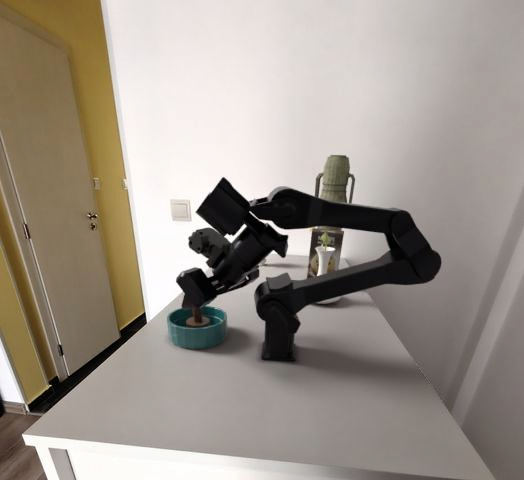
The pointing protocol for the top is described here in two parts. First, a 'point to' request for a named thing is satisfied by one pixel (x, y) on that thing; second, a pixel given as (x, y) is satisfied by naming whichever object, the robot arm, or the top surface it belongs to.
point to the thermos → (335, 182)
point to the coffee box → (316, 241)
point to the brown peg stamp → (197, 320)
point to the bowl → (197, 336)
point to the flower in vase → (324, 259)
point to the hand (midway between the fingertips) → (199, 301)
